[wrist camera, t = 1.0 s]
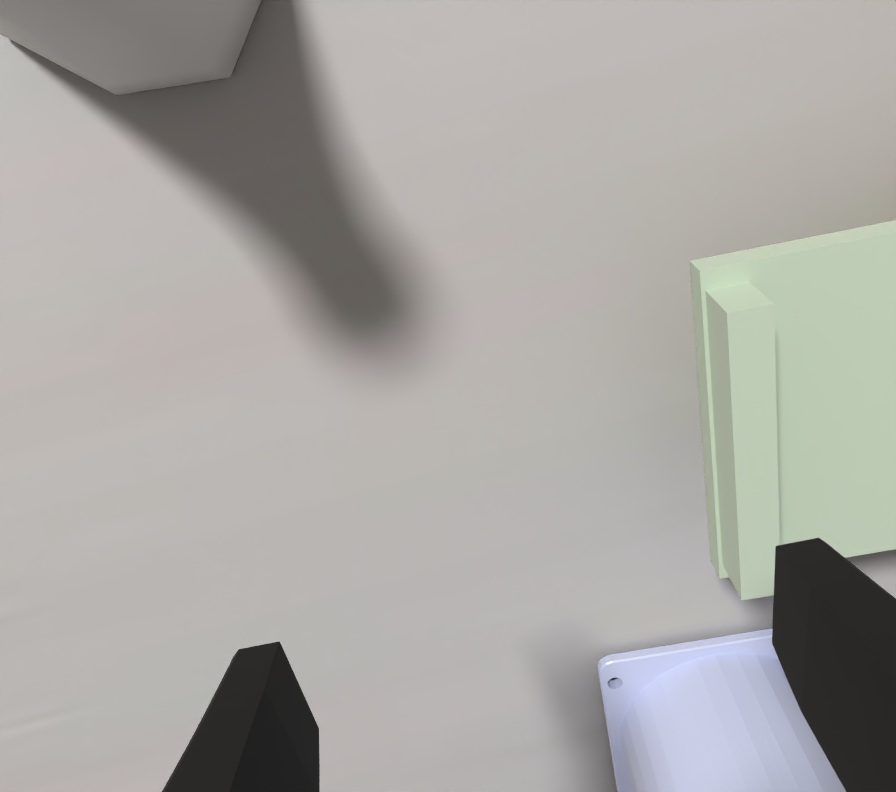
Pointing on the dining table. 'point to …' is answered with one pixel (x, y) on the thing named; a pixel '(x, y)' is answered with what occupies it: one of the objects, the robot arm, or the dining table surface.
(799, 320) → the sage lid
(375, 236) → the dining table surface
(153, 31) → the flask
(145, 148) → the dining table surface
